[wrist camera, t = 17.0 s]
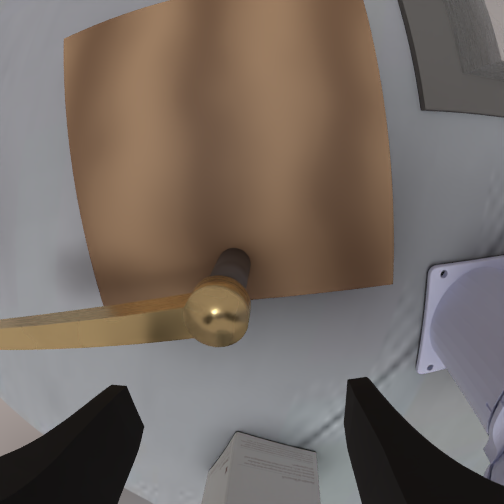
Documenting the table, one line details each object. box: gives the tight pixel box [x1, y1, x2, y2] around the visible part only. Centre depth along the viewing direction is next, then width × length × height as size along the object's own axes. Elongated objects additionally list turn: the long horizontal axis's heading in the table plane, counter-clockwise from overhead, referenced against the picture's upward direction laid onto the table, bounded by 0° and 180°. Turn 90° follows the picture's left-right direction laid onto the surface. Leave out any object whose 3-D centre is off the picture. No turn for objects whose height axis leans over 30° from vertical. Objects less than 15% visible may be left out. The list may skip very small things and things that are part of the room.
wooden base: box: [64, 0, 394, 306], centre depth 13 cm, size 16×16×6 cm
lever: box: [0, 276, 251, 350], centre depth 12 cm, size 14×2×1 cm, turn 102°
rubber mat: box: [398, 0, 504, 117], centre depth 13 cm, size 10×10×1 cm
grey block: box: [443, 0, 504, 81], centre depth 10 cm, size 4×6×4 cm, turn 7°
